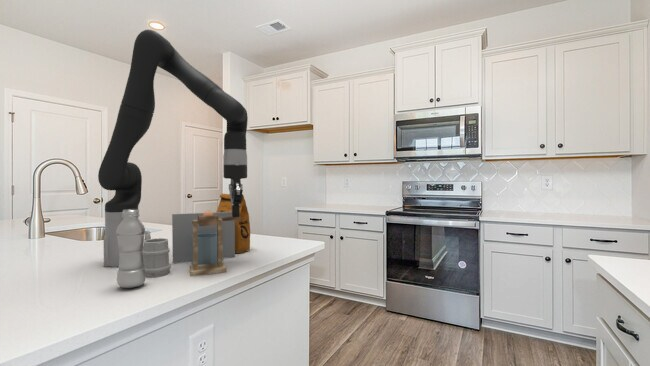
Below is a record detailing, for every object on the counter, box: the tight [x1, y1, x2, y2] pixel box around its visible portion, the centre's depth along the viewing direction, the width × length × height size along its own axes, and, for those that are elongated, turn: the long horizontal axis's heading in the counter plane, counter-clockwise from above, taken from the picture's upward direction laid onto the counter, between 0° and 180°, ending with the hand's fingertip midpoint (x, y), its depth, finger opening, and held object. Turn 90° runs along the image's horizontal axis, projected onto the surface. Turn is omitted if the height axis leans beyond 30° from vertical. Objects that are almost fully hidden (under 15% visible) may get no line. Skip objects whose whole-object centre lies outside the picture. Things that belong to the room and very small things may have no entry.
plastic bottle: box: [116, 208, 147, 289], centre depth 83 cm, size 6×7×20 cm
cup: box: [190, 233, 217, 266], centre depth 106 cm, size 9×9×9 cm
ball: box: [202, 210, 214, 216], centre depth 94 cm, size 3×3×3 cm
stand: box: [189, 218, 227, 277], centre depth 97 cm, size 10×7×16 cm
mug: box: [143, 230, 172, 278], centre depth 95 cm, size 8×12×12 cm, turn 51°
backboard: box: [171, 211, 236, 264], centre depth 110 cm, size 20×1×16 cm, turn 114°
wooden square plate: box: [198, 213, 241, 226], centre depth 99 cm, size 13×13×3 cm
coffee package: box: [216, 193, 251, 254], centre depth 123 cm, size 10×12×22 cm
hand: (235, 216), depth 105 cm, fingers closed
